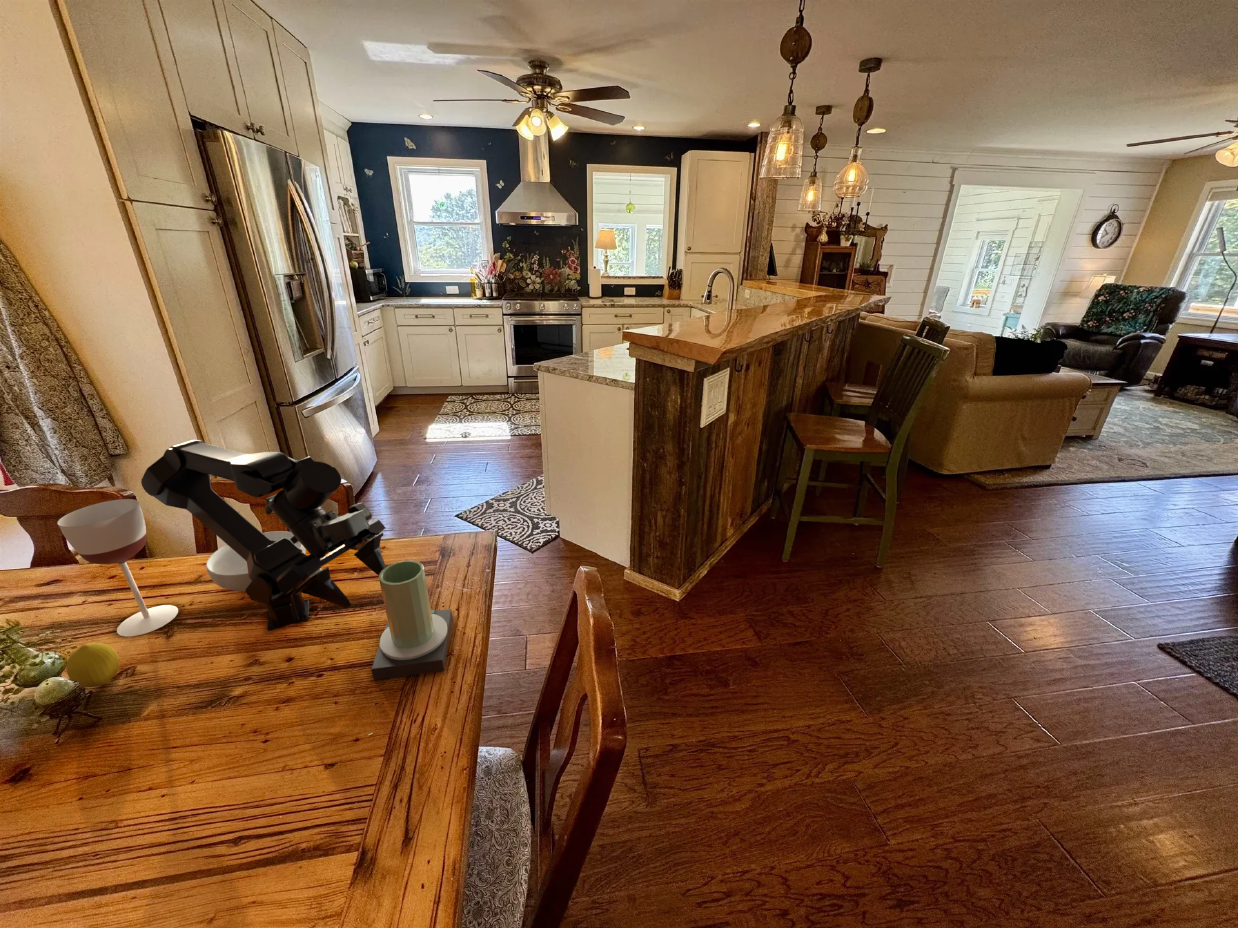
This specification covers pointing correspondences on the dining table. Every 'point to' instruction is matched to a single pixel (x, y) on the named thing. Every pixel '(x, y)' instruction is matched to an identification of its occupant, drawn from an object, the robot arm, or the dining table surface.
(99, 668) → the lemon
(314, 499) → the robot arm
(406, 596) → the tumbler
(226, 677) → the dining table surface
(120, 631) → the wineglass
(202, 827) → the dining table surface
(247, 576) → the cereal bowl
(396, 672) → the scale
